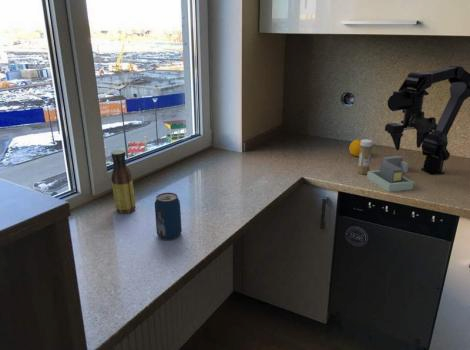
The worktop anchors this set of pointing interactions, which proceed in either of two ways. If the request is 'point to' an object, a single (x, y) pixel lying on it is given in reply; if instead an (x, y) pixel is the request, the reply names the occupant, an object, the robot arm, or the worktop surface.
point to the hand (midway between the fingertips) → (407, 148)
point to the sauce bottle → (122, 183)
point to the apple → (355, 147)
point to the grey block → (390, 173)
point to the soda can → (168, 216)
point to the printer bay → (396, 162)
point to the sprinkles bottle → (365, 156)
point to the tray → (389, 187)
